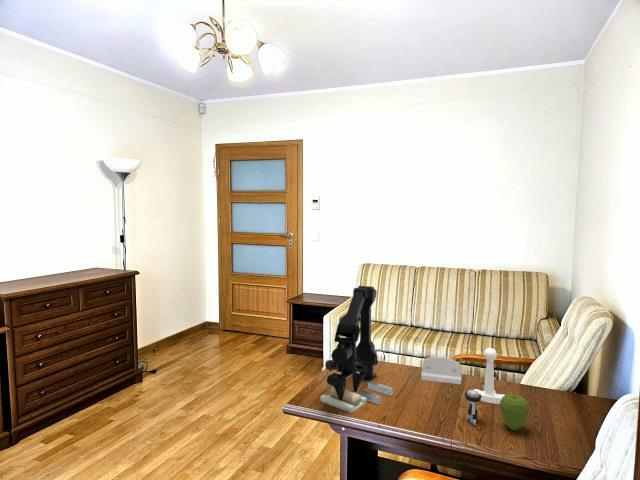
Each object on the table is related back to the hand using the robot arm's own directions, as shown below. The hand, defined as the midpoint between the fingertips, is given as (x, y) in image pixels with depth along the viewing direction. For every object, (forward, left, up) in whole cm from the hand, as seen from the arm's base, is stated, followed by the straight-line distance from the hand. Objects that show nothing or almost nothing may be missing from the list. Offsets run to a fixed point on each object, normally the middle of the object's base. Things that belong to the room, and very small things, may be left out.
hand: (347, 396), depth 152 cm
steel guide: (-12, +4, -3) cm, 13 cm away
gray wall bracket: (-44, +17, -3) cm, 47 cm away
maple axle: (0, -1, -2) cm, 3 cm away
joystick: (-38, +39, -3) cm, 55 cm away
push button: (-17, +40, -3) cm, 44 cm away
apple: (-21, +52, -3) cm, 56 cm away
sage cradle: (0, -2, -3) cm, 4 cm away
